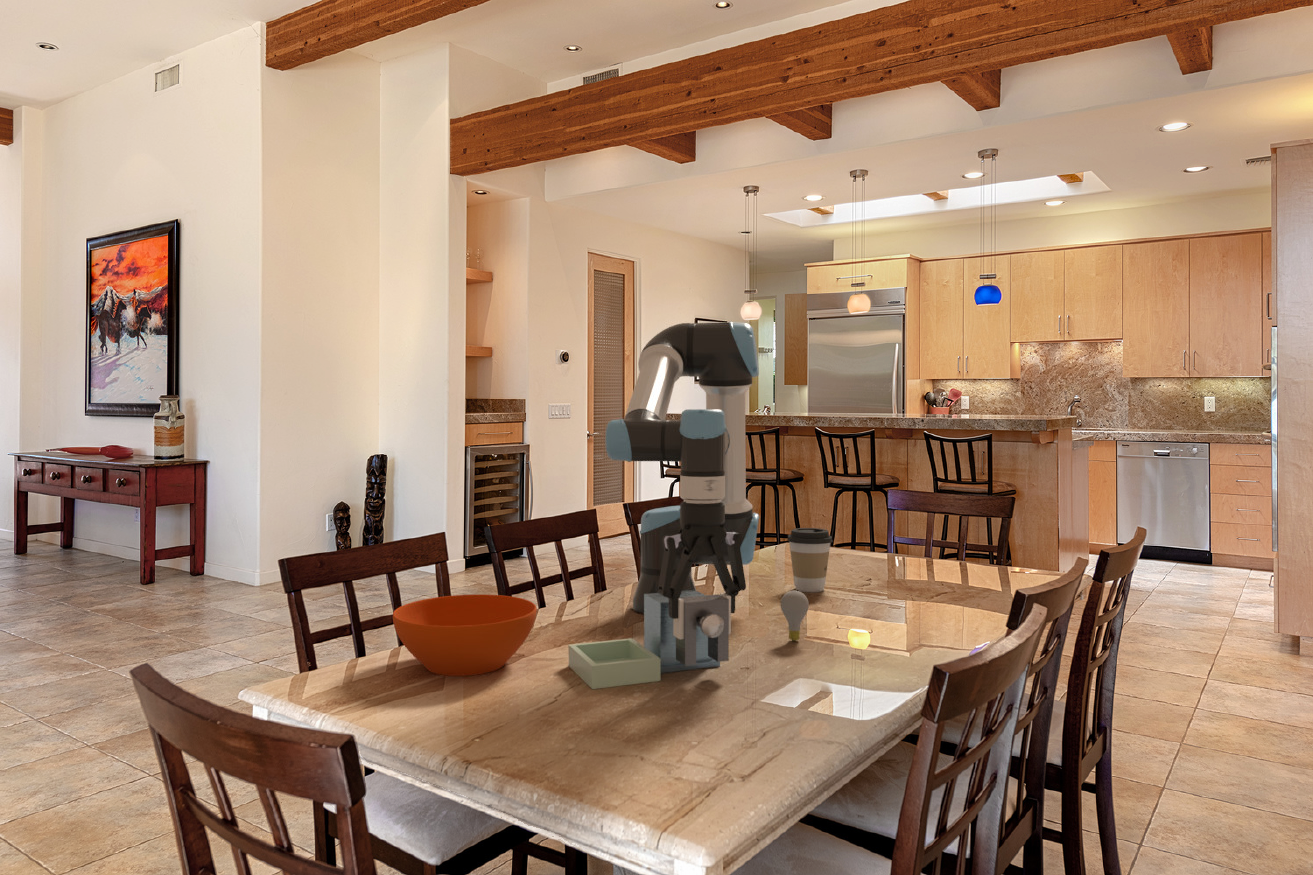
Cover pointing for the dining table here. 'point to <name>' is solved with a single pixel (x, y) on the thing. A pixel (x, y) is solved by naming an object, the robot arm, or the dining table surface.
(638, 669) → the tray
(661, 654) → the blue knob box
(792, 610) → the light bulb
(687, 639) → the grey u-shaped block
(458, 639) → the bowl
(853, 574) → the dining table surface
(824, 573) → the coffee cup
